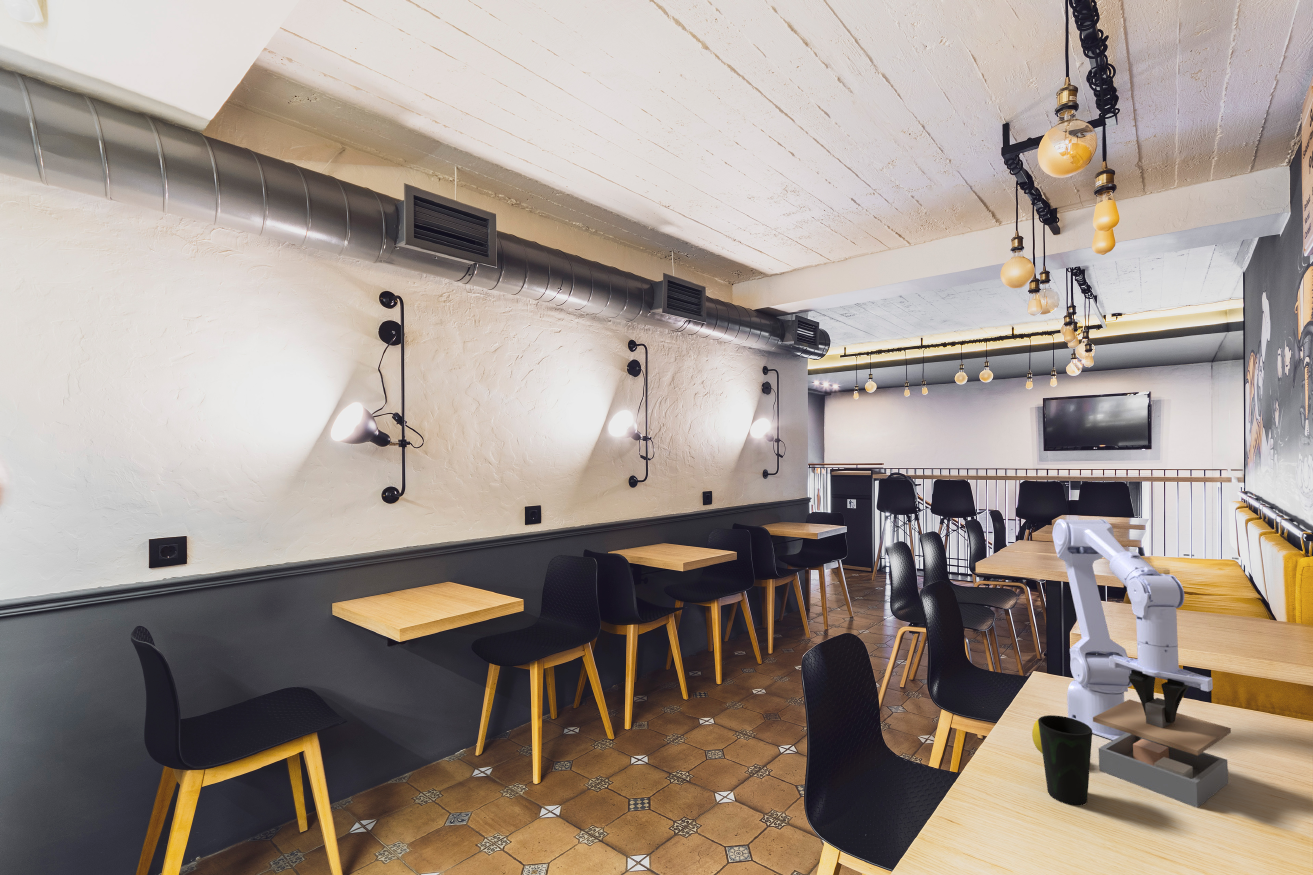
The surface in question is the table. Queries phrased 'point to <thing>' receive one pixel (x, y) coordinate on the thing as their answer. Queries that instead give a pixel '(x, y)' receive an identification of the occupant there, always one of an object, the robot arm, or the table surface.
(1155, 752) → the terracotta block
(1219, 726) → the lid
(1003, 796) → the table surface
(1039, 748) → the lemon
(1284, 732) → the table surface
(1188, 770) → the offwhite block
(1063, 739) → the cup
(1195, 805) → the box
